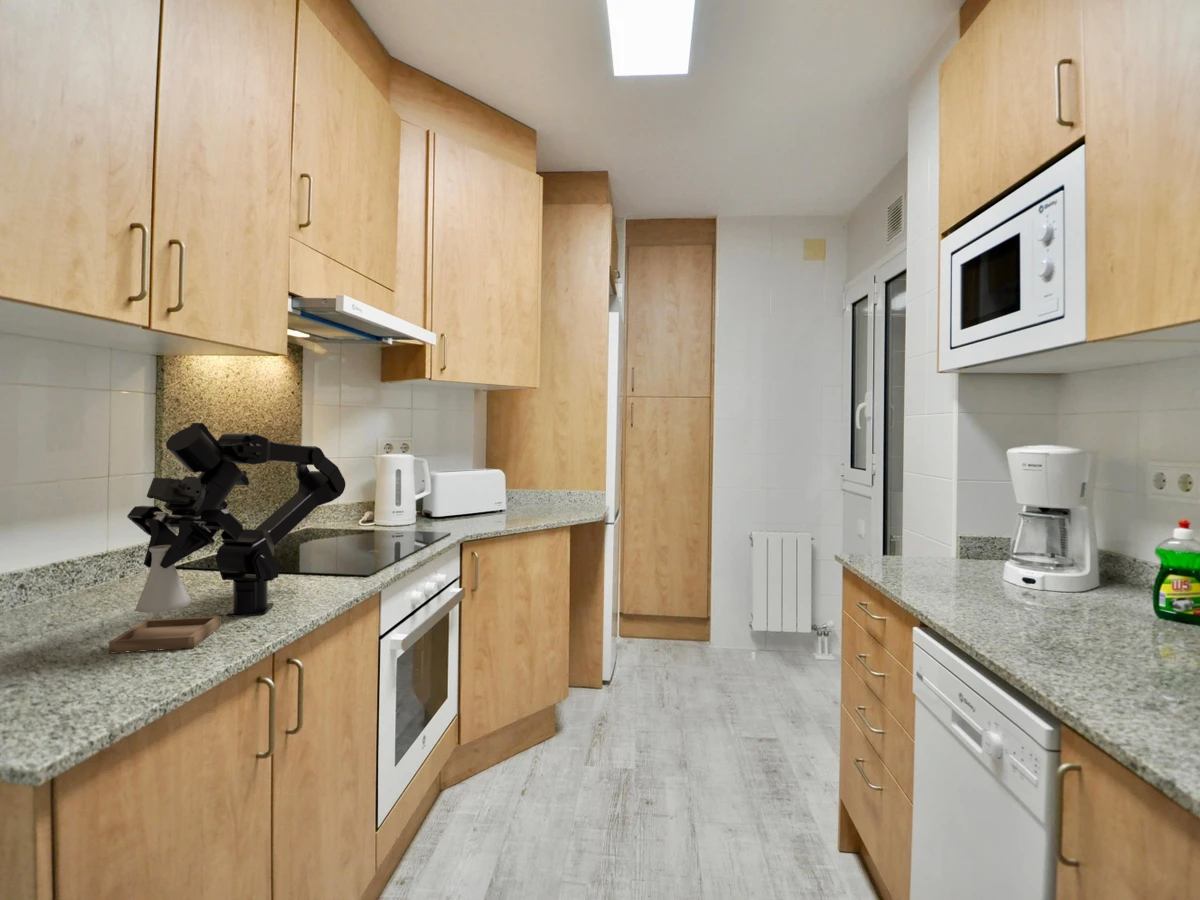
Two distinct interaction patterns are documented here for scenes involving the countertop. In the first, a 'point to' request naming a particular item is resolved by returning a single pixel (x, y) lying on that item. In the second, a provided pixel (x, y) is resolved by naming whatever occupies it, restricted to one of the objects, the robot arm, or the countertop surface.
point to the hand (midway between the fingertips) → (154, 566)
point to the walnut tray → (165, 634)
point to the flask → (162, 586)
